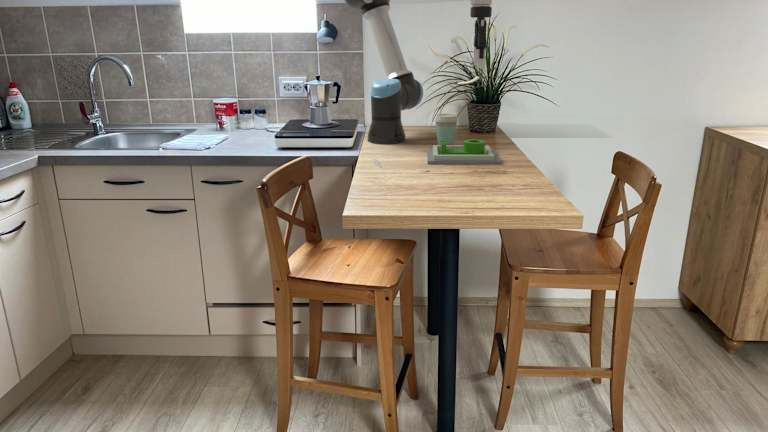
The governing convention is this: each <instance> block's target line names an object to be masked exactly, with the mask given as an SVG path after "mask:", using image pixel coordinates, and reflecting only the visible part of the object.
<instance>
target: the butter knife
mask: <svg viewBox="0 0 768 432" xmlns="http://www.w3.org/2000/svg"><path fill="white" fill-rule="evenodd" d="M378 160H379V159H377V158H374V159H372V161H373V163H374V164H375V163H376V164H377V165H378V166H379V167H378V166H377V165H376V164H375V165H376V166H377V167H378V168H379V169H380V168H383V169H384V167H383V166H382V164H381V161H380V160H379V161H378Z"/></svg>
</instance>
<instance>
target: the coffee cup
mask: <svg viewBox="0 0 768 432" xmlns="http://www.w3.org/2000/svg"><path fill="white" fill-rule="evenodd" d="M458 121H459V120H458V117H457V114H454V113H439V114H436V115H435V117H434V122H435V131H436V142H437V145H440V142H441V140H445V141H446V145H455V138H456V131H457V124H458Z"/></svg>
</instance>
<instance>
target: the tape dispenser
mask: <svg viewBox="0 0 768 432" xmlns="http://www.w3.org/2000/svg"><path fill="white" fill-rule="evenodd" d="M463 145H464V149H446V141H445V140H441V142H440V153H441V155H484V151H485V145H486V140H483V139H472V138H471V139H465V140H463Z"/></svg>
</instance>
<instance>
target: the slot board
mask: <svg viewBox="0 0 768 432" xmlns="http://www.w3.org/2000/svg"><path fill="white" fill-rule="evenodd" d="M446 149H464V144H460V145H458V144H457V145H456V144H454V145H446ZM426 155H427V165H502V164H501V163H502V161H501V159H500V158H499V157H500V156H499V155H498V154H497V152H496V150H495V148H491V147H490V145H488V144H487V145H486V144H485V151H484V155H441V153H440V145H438V144H436V145H435V144H433V145H432V148H427V149H426Z"/></svg>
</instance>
